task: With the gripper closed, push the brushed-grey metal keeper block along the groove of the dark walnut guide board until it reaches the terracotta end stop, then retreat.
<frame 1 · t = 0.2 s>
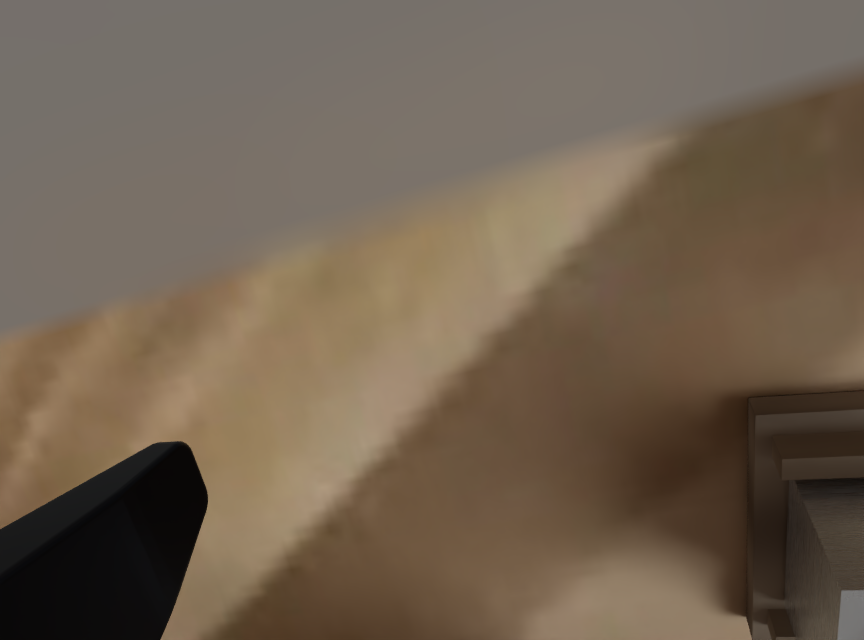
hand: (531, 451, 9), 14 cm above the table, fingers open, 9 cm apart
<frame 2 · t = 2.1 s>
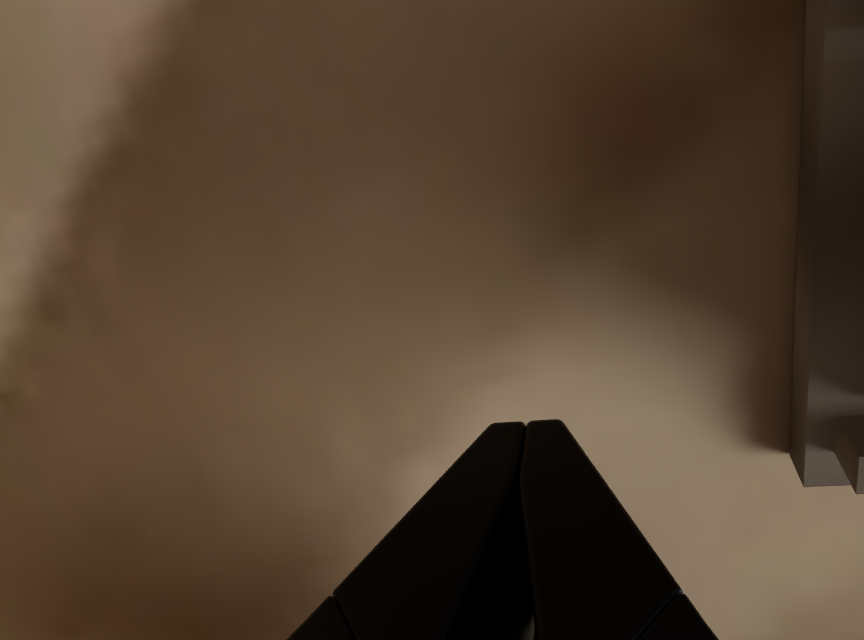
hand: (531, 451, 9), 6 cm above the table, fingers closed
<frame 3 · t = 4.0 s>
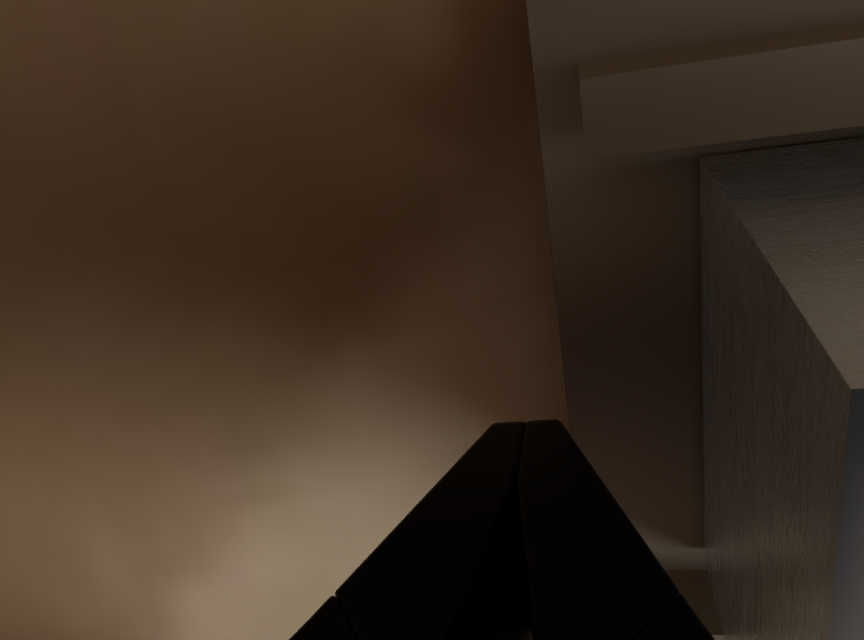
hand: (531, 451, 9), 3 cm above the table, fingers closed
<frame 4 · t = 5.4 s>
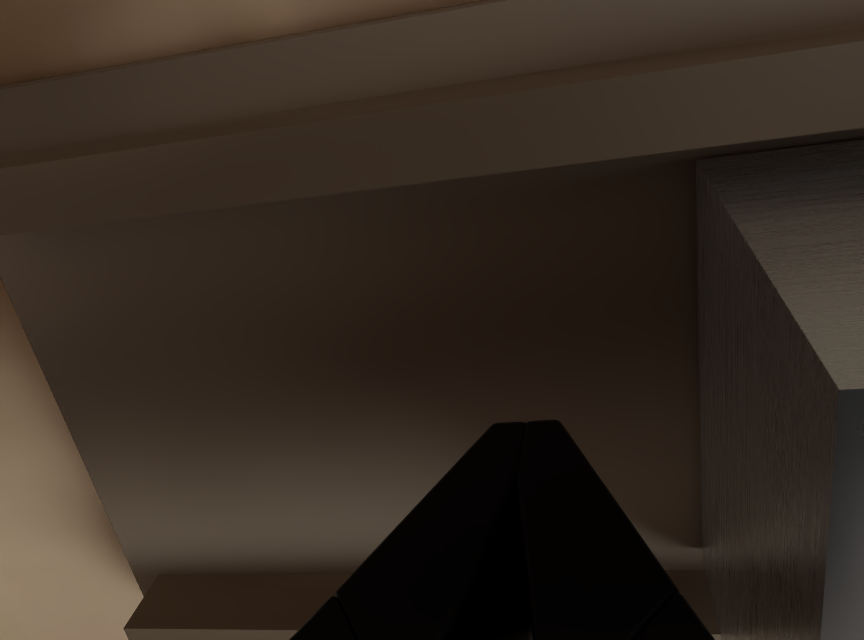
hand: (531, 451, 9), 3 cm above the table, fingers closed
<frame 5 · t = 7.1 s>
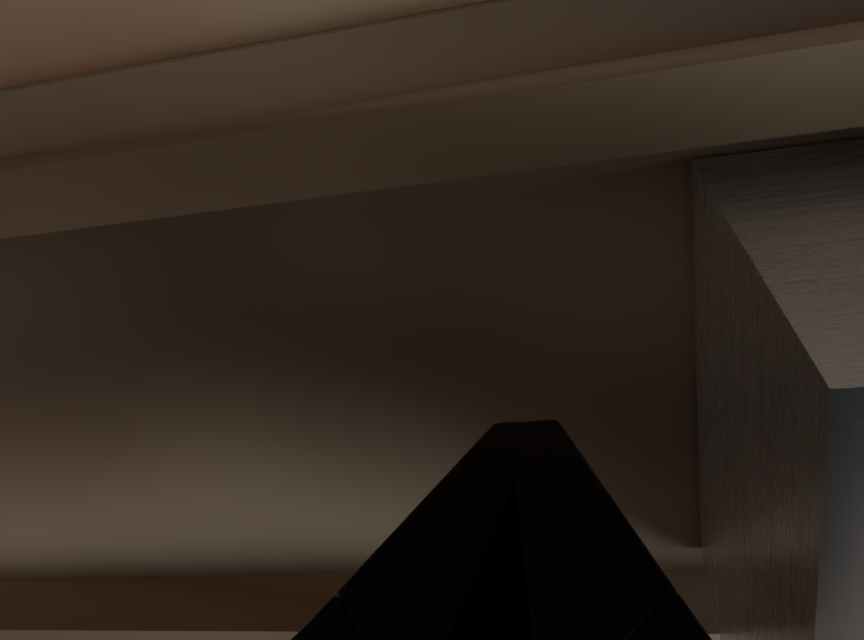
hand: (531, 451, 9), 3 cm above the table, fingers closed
guide board: (367, 366, 12), on the table
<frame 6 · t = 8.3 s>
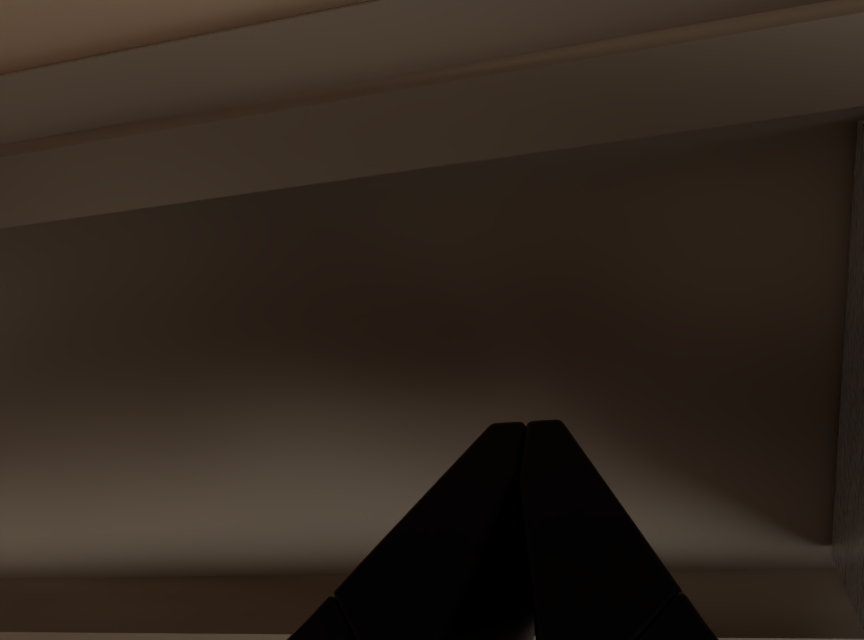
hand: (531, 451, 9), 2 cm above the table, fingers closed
guide board: (464, 353, 11), on the table
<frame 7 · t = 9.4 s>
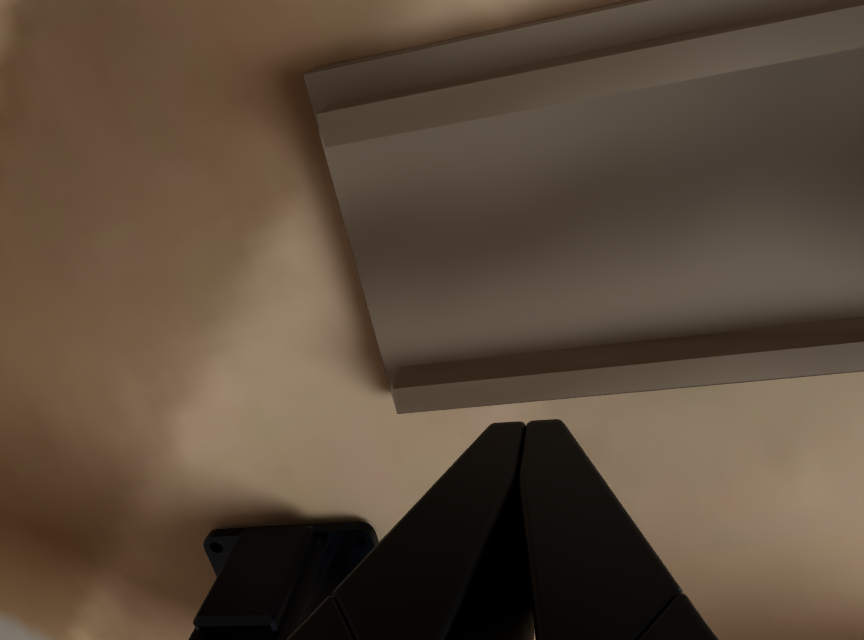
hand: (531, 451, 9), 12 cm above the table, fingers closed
guide board: (845, 176, 18), on the table
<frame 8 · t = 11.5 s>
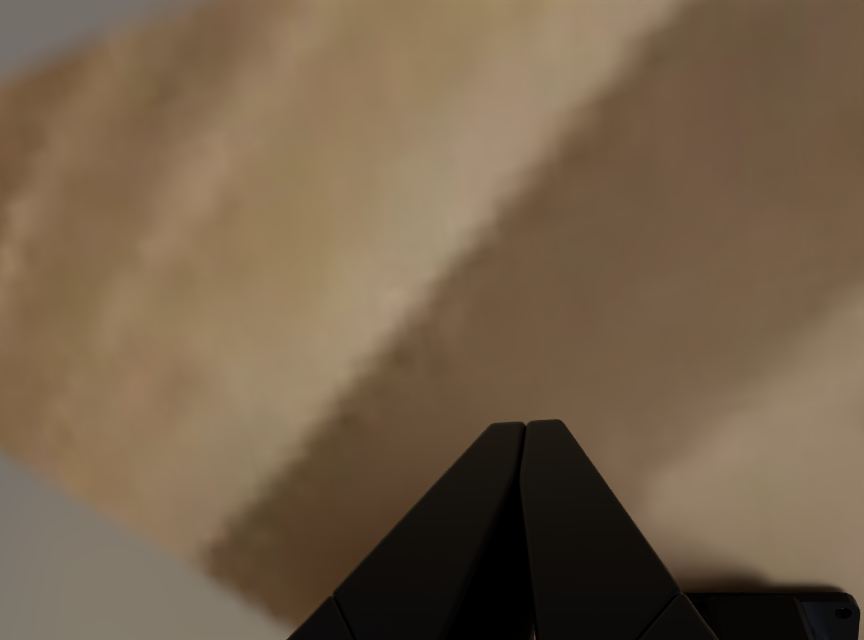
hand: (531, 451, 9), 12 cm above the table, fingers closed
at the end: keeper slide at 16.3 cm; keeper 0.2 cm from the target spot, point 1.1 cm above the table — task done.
